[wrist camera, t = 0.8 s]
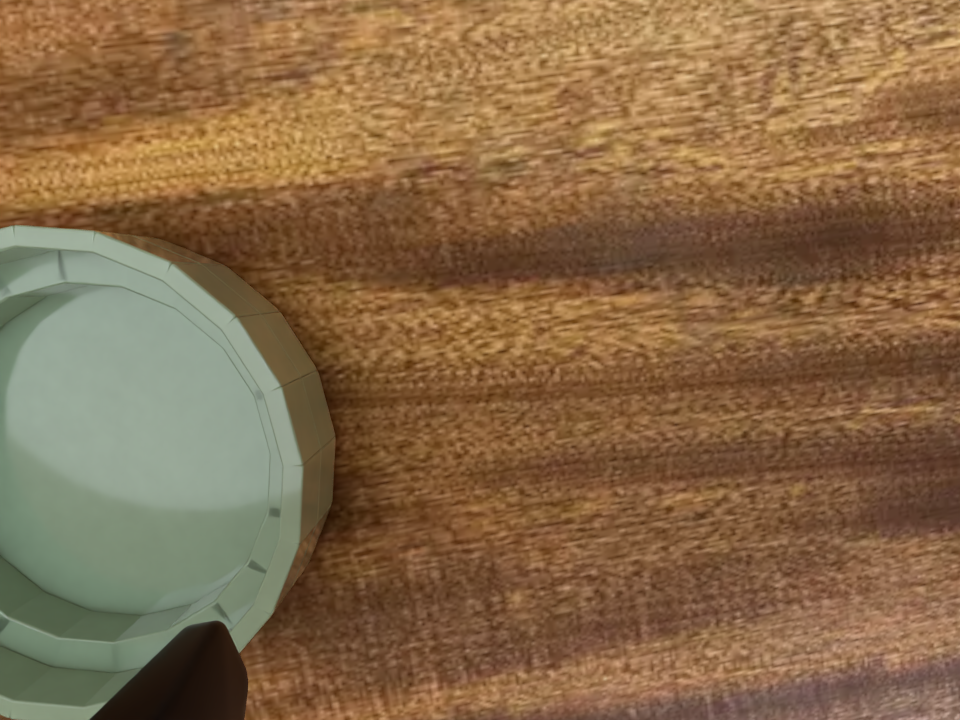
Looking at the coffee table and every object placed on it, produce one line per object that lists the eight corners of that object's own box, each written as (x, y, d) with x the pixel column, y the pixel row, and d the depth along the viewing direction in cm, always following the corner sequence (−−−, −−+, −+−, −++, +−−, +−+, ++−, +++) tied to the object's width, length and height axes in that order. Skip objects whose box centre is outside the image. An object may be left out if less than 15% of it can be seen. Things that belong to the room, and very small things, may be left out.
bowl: (252, 710, 26) (200, 797, 22) (-125, 556, 26) (-255, 612, 22) (401, 334, 25) (377, 346, 20) (0, 170, 25) (-112, 146, 20)
